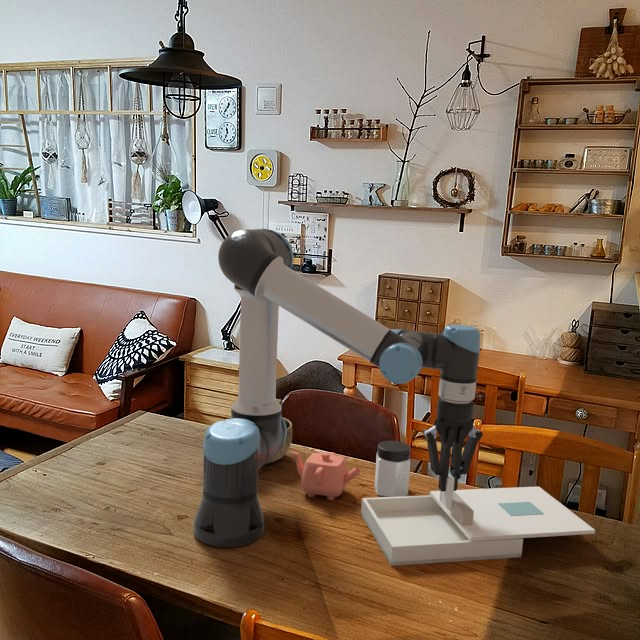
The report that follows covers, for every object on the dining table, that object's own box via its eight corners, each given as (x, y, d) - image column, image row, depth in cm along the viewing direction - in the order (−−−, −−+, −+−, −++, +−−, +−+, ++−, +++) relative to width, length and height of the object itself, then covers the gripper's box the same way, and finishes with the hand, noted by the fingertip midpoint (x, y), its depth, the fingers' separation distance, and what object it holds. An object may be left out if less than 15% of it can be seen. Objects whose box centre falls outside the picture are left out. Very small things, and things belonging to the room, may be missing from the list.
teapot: (340, 480, 166) (342, 442, 164) (360, 499, 155) (363, 459, 154) (288, 486, 160) (289, 447, 159) (306, 507, 150) (307, 465, 148)
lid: (470, 541, 129) (472, 523, 128) (429, 494, 150) (431, 478, 149) (594, 533, 134) (596, 516, 134) (538, 489, 156) (540, 474, 155)
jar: (387, 501, 155) (390, 454, 153) (367, 488, 161) (370, 443, 159) (415, 494, 160) (418, 448, 158) (394, 482, 166) (397, 438, 164)
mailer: (391, 565, 126) (392, 546, 125) (360, 514, 147) (362, 498, 146) (521, 557, 132) (523, 538, 131) (474, 509, 153) (475, 493, 152)
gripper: (433, 404, 130) (424, 513, 134) (493, 404, 133) (481, 511, 136) (420, 393, 137) (411, 498, 141) (476, 393, 140) (466, 495, 144)
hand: (446, 504), depth 139 cm, fingers closed
